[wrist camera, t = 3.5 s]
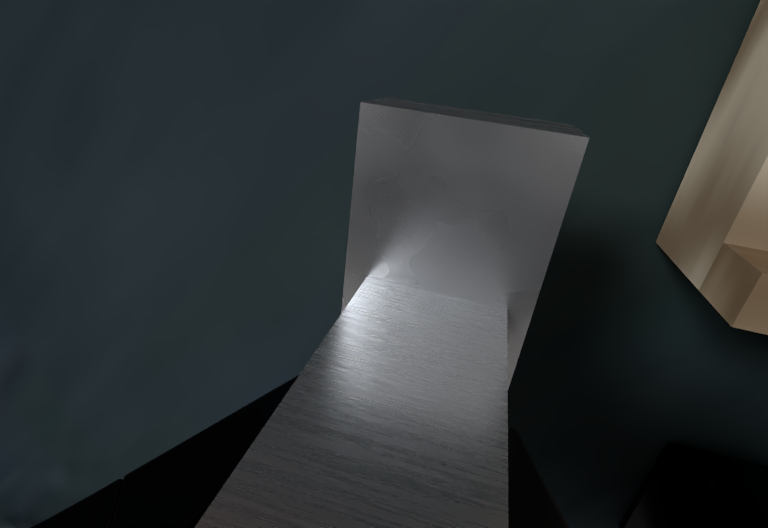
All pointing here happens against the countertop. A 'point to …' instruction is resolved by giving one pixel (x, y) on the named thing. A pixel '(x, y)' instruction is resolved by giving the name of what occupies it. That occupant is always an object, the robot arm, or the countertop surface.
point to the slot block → (729, 194)
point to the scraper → (417, 329)
